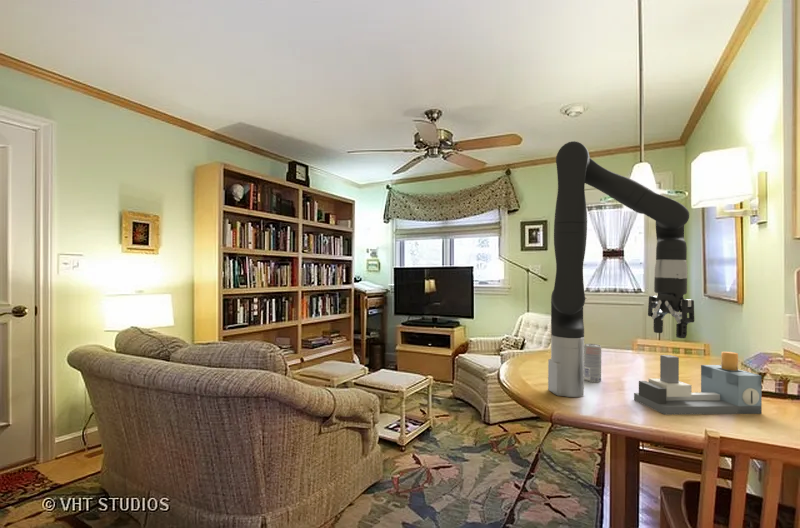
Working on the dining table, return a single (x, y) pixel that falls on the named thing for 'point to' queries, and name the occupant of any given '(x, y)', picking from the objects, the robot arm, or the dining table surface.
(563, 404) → the dining table surface
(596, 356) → the energy drink
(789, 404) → the dining table surface
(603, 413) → the dining table surface
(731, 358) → the button
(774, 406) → the dining table surface
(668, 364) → the carriage
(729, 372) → the rail track
